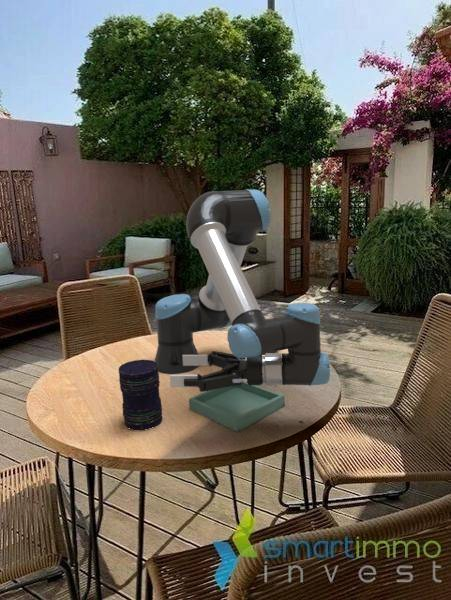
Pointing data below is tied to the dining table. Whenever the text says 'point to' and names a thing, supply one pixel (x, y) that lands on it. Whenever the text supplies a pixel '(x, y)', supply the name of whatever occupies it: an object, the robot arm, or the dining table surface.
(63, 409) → the dining table surface
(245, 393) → the tray
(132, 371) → the dark blue ribbed cylinder
